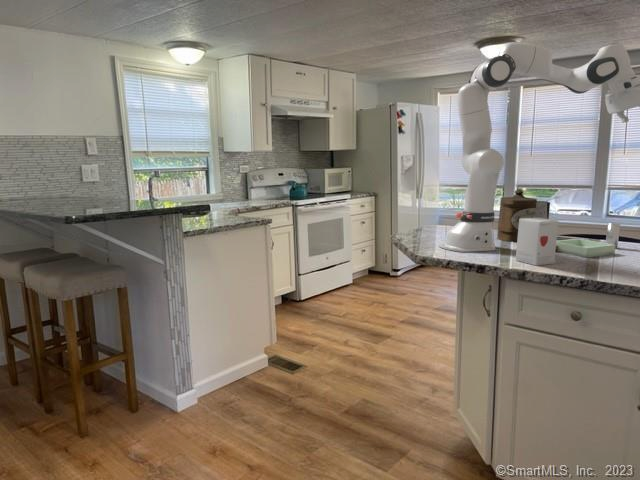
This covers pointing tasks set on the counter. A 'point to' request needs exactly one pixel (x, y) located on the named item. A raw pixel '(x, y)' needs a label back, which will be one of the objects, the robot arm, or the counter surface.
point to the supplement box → (536, 241)
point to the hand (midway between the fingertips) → (635, 119)
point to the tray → (585, 248)
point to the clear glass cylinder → (613, 233)
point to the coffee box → (542, 209)
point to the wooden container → (514, 215)
